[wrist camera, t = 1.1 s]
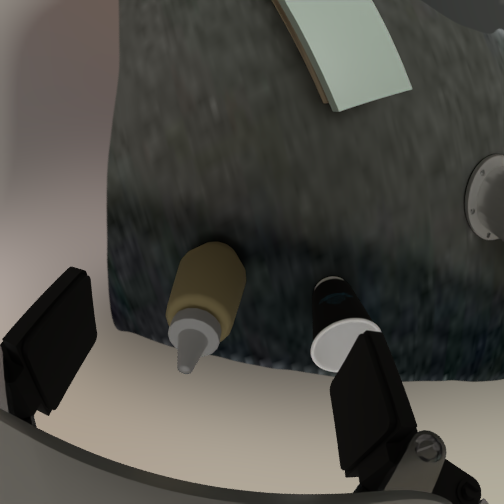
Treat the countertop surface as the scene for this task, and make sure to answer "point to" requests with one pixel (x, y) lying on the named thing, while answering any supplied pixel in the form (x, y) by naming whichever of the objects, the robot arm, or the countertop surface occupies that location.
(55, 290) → the robot arm
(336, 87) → the lid
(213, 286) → the squeeze bottle
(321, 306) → the dixie cup
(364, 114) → the countertop surface
